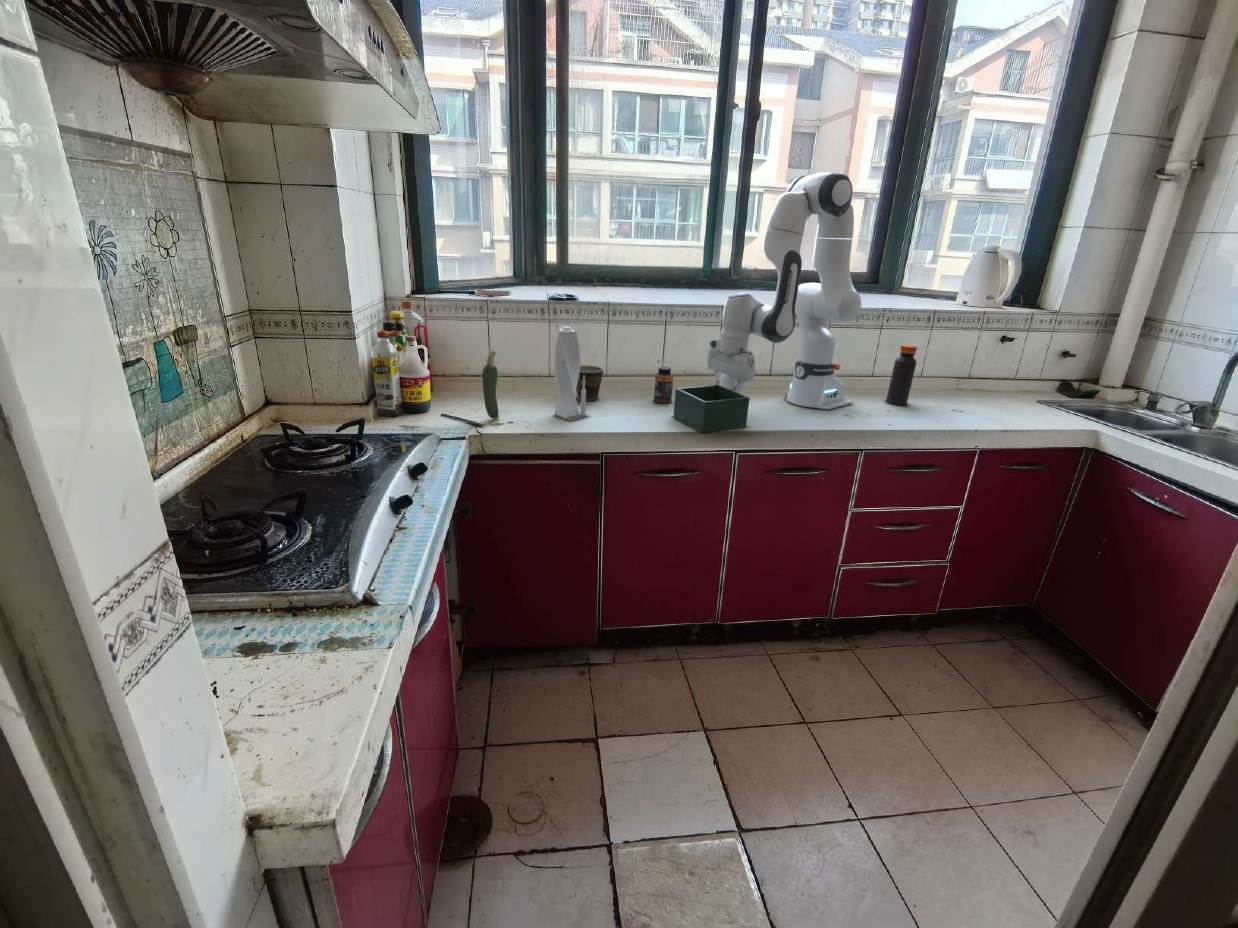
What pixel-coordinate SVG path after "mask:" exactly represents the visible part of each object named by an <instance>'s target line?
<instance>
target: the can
mask: <svg viewBox="0 0 1238 928" xmlns="http://www.w3.org/2000/svg"><path fill="white" fill-rule="evenodd" d="M736 381H737V379H735V378H732V377H730V376H728V374H727V373H724V372H722V374H721V376H720V383H719V385H720V386H723V387H725V388H727V389H730V390H732V391H733V390H734V389H733V388H734V387H736V385H737V382H736Z"/></svg>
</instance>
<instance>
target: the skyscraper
mask: <svg viewBox="0 0 1238 928" xmlns="http://www.w3.org/2000/svg"><path fill="white" fill-rule="evenodd" d="M555 327H556V331H557V337H556V340H555V341H556V342H555V349H554V360H553V361H554V363H553V364H554V378H555V385H556V389H557V393H558V395H557V400H556V405H555V410H554V414H553V415H554V417H557V418H560V419H563V420H565V421H568V422H574V421H577V420H581V419H584V418H588V414H587V401H586V389H585V381H584V378H585V375H583V388H582V389H581V400H580V406H579V407H580V411H579V407H578V402H577V397H576V391H577V390H576V387H577V383H578V378H579V372H580V366H581V348H580V340H579V336H578V327H577V326H574V325H572V324H571V323H568V322H564V321H563V322H562V321H560V322H556V323H555Z"/></svg>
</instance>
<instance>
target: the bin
mask: <svg viewBox="0 0 1238 928" xmlns="http://www.w3.org/2000/svg"><path fill="white" fill-rule="evenodd" d="M750 398H751V397H749V396H747V395H744V394H742V393H737V392H735V391H732V390H730V389H727V388H725V387H723V386H720V385H716V384H711V385H710V384H709V385H700V386H699V385H698V386H688V387H687V386H686V387H677V388H675V393H674V404H673V405H674V407H673V418H674V419H676V420H678V421H680V422H681V423H682V424H685V425H687V426H689V427H690V428H692V429H694V430H696V431H698V432H700V433H702V434H704V433H711V432H718V431H726V430H734V429H741V428H746V427H747V423H748V422H747V421H748V413H749V407H750Z"/></svg>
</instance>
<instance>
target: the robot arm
mask: <svg viewBox="0 0 1238 928" xmlns="http://www.w3.org/2000/svg"><path fill="white" fill-rule="evenodd" d="M853 195H854V187H853V182H852V179H851V178H850V177H849V176H848V175H846V174H845V173H841V172H817V173H814V174H809V175H802V176H799V177H797V178H795V179H794V180H793V181H791V183H790V184H789V185H788V187H787V190H786V192H784V193H782V194H781V195H779V196H778V197H777V199H776V200H775V201H776V202H775V203H774V206H773V208H772V210H771V213H770V216H769V219H768V221H767V225H766V229H765V233H764V236H763V243H762V246H763V247H762V250H763V254H764V256H765V257H766V259H767V260H768V261H769V262H770V263H771V264H772V265H773V266H774V268H775V269H776V272H777V285H776V291H775V297H774V301H773V302H774V303H773V305H769V304H766V303H764V302H762V301H761V300H759V299H758V298H756V297H755V296H754V295H753V293H752V292H749V291H736V292H733V293H730V294H729V295H728V296H727V297H726V299H725V303H724V307H723V312H722V319H721V323H722V329H721V332H720V334H719V338H716V339H711V340H709V343H708V344H709V345H708V346H709V347H710V348H709V349H708V353H707V363H706V365H707V367H708V369H709V370H712V371H714V377H715V385H719V383H720V376H721V374H722V372H724V373H727V374H728V376H730V377H732V378H735V379H737V381H736V382H737V385H736V387H734V388H733V389H734V390H733V391H735V392H737V393H739V394H741V390H742V388H743V386H744V385H745V383H749V382H753V380H754V379H755V371H756V361H755V360H756V359H755V355H754V354H753V352H752V351H751V350H748V348H749V340H750V335H751V334H752V335H755V336H757V337H761V338H763V339H765V340H767V341H769V342H771V343H773V344H779V343H783V342H785V341H786V340H787V339H789V338H790V336H791V335H792V333H793V332H794V330H795V327H796V317H797V320H798V325H799V331H800V332H799V333H800V337H799V338H800V340H799V348H798V355H797V359H796V360H795V364H794V374H793V377H792V381H791V383H790V385H789V392H788V393H787V396H786V401H787V402H788V403H790V404H793V405H795V406H800V407H805V408H814V409H815V408H816V409H821V410H831V409H835V408H840V407H844V406H848V405H851V404H852V400H851V399H850V398H848V397H846V386H845V384H844V383H843V382H842V381H841V380H840V379H839V377H837V375H835V371H840V369H841V368H842V367H841V364H840V363H833V359H834V358H833V357H834V353H835V348H836V347H835V346H836V338H835V336H834V335H833V334H832V332H831V330H830V327H829V322H831V323H848V322H851V321H853V320H854V319H856V317H857V316H858V315H859V314H860V311H861V308H862V298H861V295H860V294H859V293H858V290H856V288H855V286H854V284H853V279H852V275H851V269H850V268H851V267H850V265H851V264H850V263H851V254H852V248H853V247H852V246H853V240H854V233H855V219H856V217H855V216H856V215H855V206H854V204H853V203H852V202H853ZM811 215H816V218H817V228H816V233H815V239H814V247H813V254H812V266H813V268H814V269H815V270H816V271H817V274H818V276H819V280H820V281H819V282H807V283H801V284H800V280H801V275H802V267H803V263H802V262H803V261H802V257H801V248H802V244H803V243H802V242H803V238H804V234H805V230H806V226H807V222H808V220H809V218H810V216H811Z"/></svg>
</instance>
